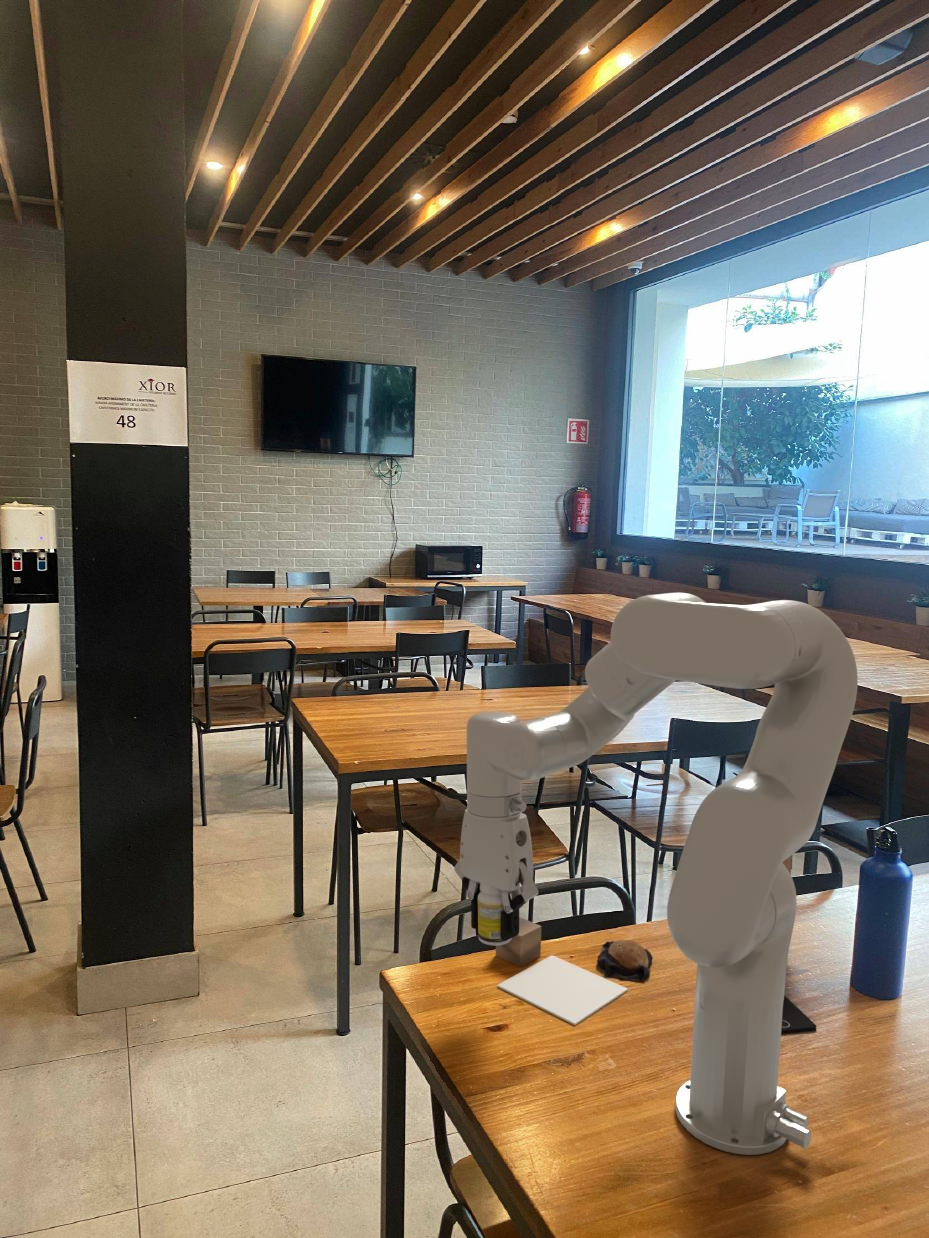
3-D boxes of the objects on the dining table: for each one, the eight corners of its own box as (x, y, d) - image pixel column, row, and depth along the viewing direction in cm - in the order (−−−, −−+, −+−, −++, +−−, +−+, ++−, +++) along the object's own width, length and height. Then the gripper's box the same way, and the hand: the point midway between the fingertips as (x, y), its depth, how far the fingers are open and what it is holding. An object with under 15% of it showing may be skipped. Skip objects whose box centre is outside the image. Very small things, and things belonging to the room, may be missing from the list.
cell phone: (758, 1039, 119) (758, 1032, 119) (697, 972, 137) (697, 966, 137) (817, 1033, 121) (818, 1026, 121) (749, 967, 138) (750, 962, 138)
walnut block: (540, 956, 140) (541, 926, 139) (519, 967, 136) (520, 936, 136) (516, 945, 143) (517, 915, 143) (495, 955, 140) (496, 925, 139)
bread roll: (599, 948, 144) (600, 926, 144) (652, 954, 142) (653, 932, 142) (595, 980, 134) (596, 957, 133) (652, 987, 132) (653, 963, 132)
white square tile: (627, 990, 130) (627, 988, 130) (574, 1025, 121) (575, 1023, 121) (551, 956, 140) (551, 954, 139) (497, 986, 130) (497, 984, 130)
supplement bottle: (492, 928, 127) (491, 871, 126) (519, 937, 124) (518, 878, 123) (471, 940, 123) (470, 881, 123) (498, 949, 120) (497, 889, 120)
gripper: (560, 809, 119) (560, 940, 121) (467, 786, 131) (468, 906, 132) (524, 821, 114) (525, 959, 115) (431, 797, 125) (432, 922, 127)
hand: (495, 929), depth 124 cm, fingers closed on supplement bottle, 4 cm apart
